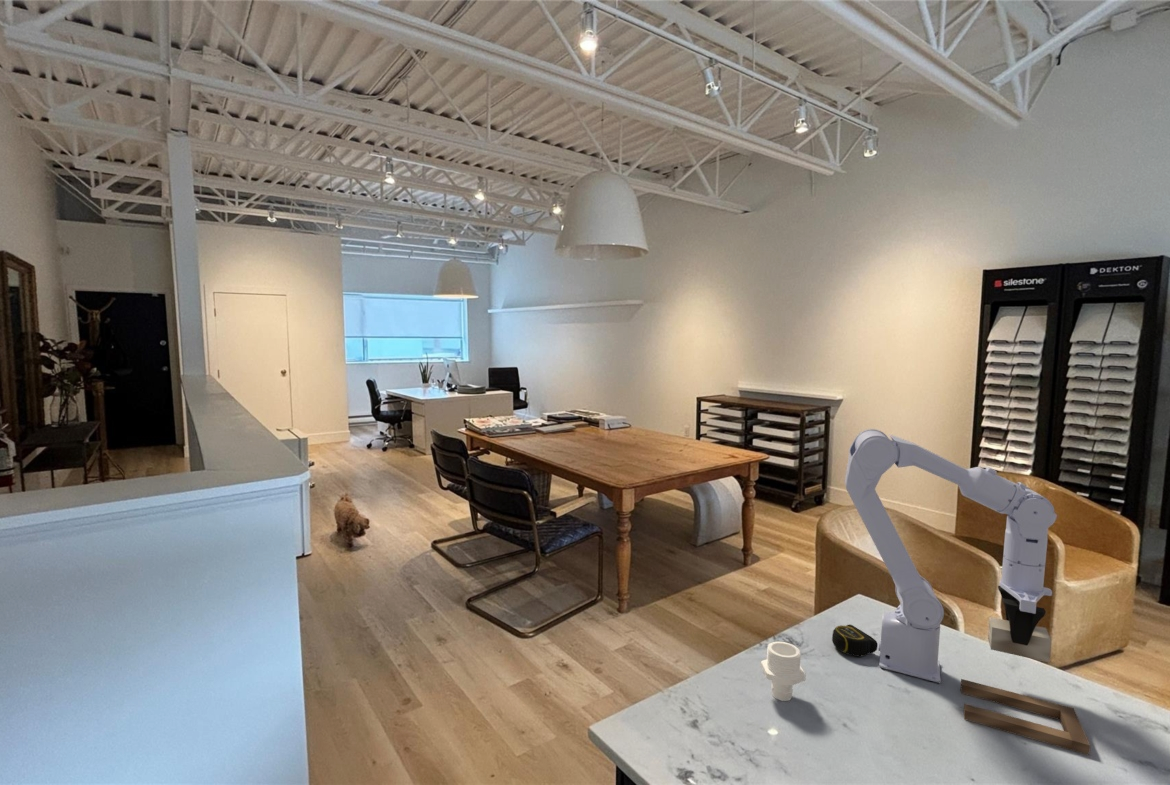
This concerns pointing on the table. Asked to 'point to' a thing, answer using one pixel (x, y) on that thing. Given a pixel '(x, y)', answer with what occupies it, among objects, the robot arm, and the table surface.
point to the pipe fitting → (783, 669)
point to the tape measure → (853, 641)
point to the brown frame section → (1067, 739)
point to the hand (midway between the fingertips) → (1017, 636)
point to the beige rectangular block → (1003, 643)
